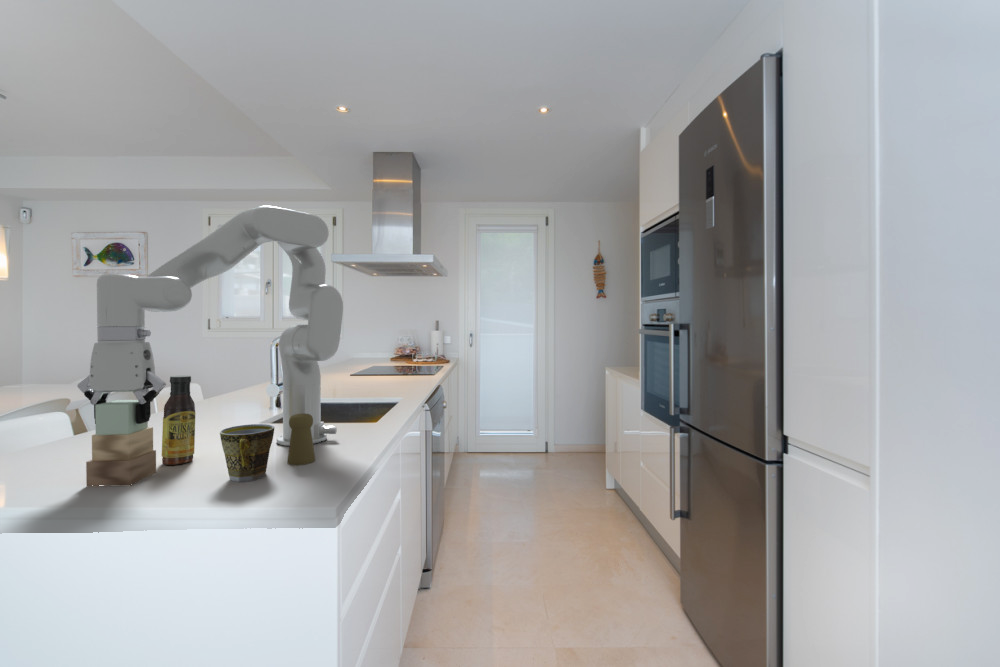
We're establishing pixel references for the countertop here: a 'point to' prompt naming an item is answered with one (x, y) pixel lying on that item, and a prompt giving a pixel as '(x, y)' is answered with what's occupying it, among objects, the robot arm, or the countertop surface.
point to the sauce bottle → (178, 423)
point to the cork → (301, 440)
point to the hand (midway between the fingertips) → (122, 422)
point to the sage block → (117, 418)
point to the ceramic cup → (247, 450)
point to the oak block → (122, 445)
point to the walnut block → (120, 470)
